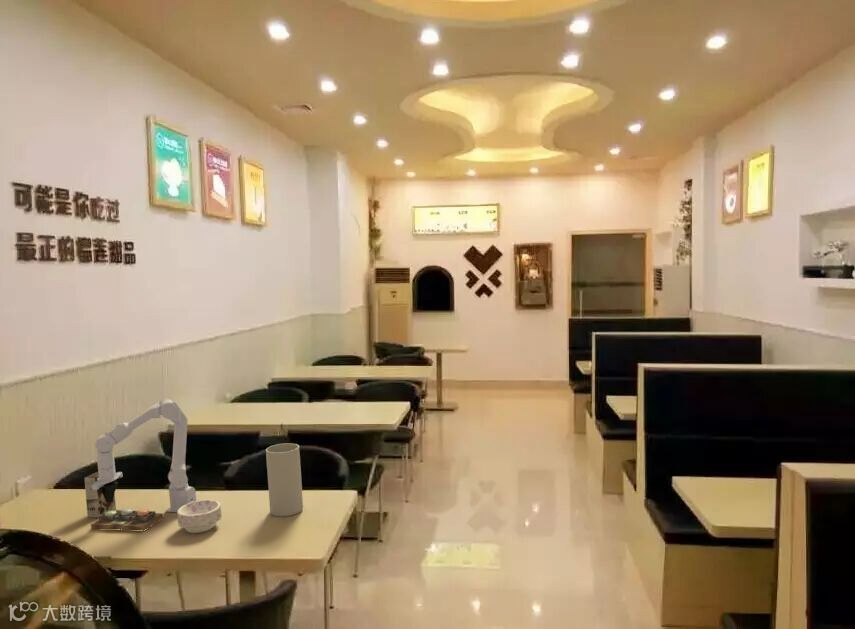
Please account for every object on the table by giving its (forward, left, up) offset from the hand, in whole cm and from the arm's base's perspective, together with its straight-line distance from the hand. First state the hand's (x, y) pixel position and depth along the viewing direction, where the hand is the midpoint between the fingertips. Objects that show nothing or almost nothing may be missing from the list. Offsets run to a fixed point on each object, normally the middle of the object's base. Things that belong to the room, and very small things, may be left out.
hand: (109, 501), depth 247 cm
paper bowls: (-38, +1, -9) cm, 39 cm away
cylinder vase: (-64, -17, -9) cm, 67 cm away
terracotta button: (-14, 0, -5) cm, 15 cm away
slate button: (-7, 0, -5) cm, 8 cm away
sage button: (0, 0, -6) cm, 6 cm away
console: (-7, 0, -8) cm, 11 cm away
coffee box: (+11, -9, -9) cm, 17 cm away
